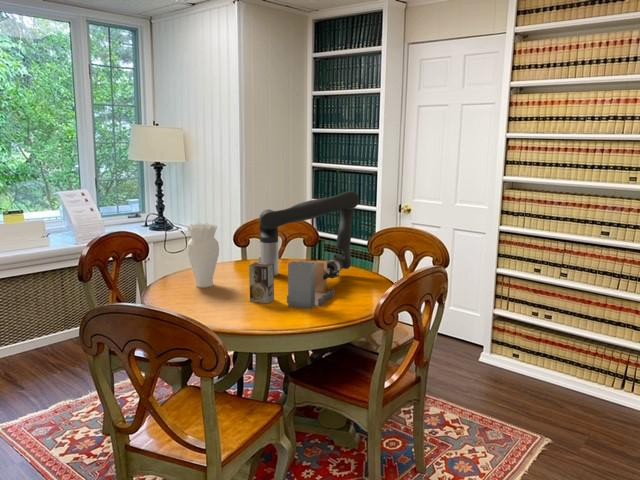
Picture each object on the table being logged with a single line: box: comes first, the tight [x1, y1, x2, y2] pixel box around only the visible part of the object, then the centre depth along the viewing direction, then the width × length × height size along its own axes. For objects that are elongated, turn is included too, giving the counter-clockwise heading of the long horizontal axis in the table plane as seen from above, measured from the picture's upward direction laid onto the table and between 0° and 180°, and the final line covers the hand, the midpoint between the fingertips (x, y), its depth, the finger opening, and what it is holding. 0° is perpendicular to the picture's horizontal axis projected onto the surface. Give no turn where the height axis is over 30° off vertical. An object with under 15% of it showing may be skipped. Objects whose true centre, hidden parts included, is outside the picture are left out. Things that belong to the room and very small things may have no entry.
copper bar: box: [315, 259, 328, 293], centre depth 245 cm, size 4×4×14 cm
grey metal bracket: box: [286, 260, 335, 310], centre depth 231 cm, size 15×23×18 cm
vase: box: [186, 222, 220, 288], centre depth 253 cm, size 15×15×29 cm
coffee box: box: [248, 261, 275, 304], centre depth 231 cm, size 9×6×16 cm
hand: (318, 277), depth 242 cm, fingers closed on copper bar, 4 cm apart
